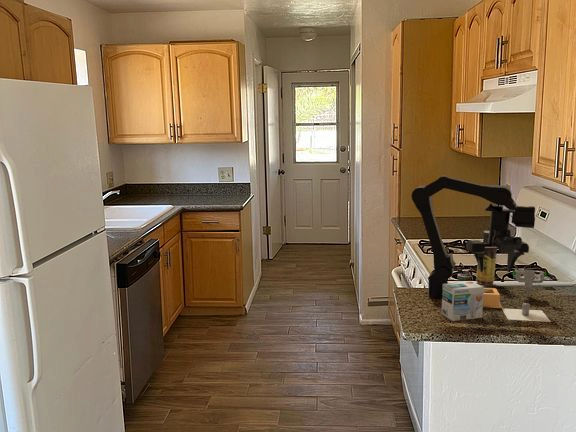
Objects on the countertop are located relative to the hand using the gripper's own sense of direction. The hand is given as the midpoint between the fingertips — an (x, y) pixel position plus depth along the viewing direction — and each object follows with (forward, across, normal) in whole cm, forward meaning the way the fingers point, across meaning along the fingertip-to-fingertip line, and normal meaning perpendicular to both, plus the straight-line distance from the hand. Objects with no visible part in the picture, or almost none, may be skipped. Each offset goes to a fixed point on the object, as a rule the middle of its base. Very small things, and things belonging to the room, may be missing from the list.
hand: (495, 271), depth 180 cm
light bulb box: (+12, -15, -12) cm, 22 cm away
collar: (+10, -2, -1) cm, 11 cm away
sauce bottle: (+12, +8, +24) cm, 27 cm away
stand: (+11, -2, -1) cm, 12 cm away
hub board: (+11, +5, -13) cm, 18 cm away
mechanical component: (+11, +14, +4) cm, 19 cm away
